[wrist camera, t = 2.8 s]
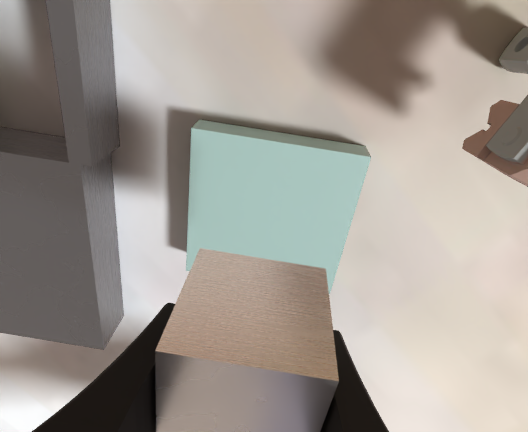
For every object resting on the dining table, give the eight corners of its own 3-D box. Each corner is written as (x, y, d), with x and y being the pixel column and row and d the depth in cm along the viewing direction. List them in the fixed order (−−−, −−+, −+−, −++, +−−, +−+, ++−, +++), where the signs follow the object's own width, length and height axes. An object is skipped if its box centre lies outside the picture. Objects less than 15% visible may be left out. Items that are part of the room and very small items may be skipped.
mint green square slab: (327, 276, 21) (329, 294, 20) (193, 254, 21) (185, 270, 20) (365, 146, 17) (371, 156, 16) (199, 119, 17) (191, 127, 16)
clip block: (301, 355, 13) (303, 477, 10) (194, 337, 13) (156, 452, 10) (325, 268, 11) (339, 381, 8) (199, 247, 11) (155, 351, 8)
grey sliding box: (131, 317, 24) (110, 353, 21) (13, 297, 24) (-21, 332, 21) (106, -48, 14) (62, -63, 11) (-93, -80, 14) (-182, -102, 11)
